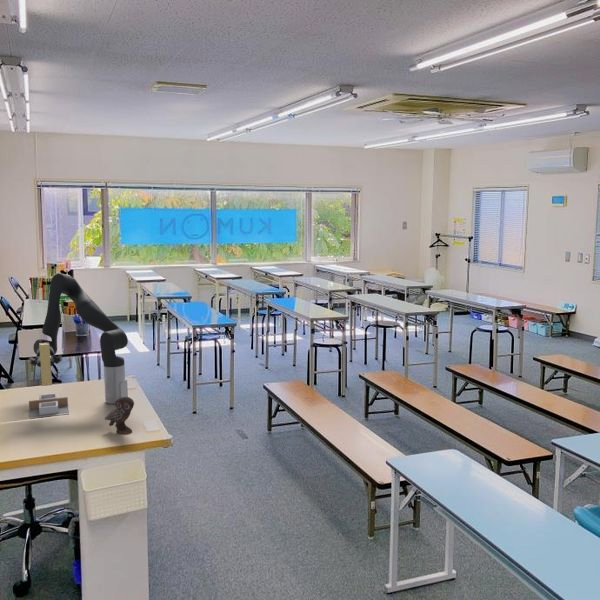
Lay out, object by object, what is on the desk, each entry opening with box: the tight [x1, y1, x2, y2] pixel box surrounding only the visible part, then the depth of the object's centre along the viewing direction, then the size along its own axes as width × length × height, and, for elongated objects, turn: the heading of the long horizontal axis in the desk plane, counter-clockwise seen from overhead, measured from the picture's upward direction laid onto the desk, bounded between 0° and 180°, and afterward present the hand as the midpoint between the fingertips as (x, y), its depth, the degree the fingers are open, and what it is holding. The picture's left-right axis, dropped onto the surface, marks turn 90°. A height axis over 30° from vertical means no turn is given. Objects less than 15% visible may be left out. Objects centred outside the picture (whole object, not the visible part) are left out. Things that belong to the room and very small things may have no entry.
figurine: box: [104, 396, 135, 435], centre depth 251 cm, size 13×6×15 cm, turn 65°
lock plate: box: [28, 392, 70, 420], centre depth 281 cm, size 24×16×4 cm, turn 22°
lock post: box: [39, 343, 53, 387], centre depth 272 cm, size 4×4×18 cm
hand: (45, 364), depth 269 cm, fingers closed on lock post, 4 cm apart
